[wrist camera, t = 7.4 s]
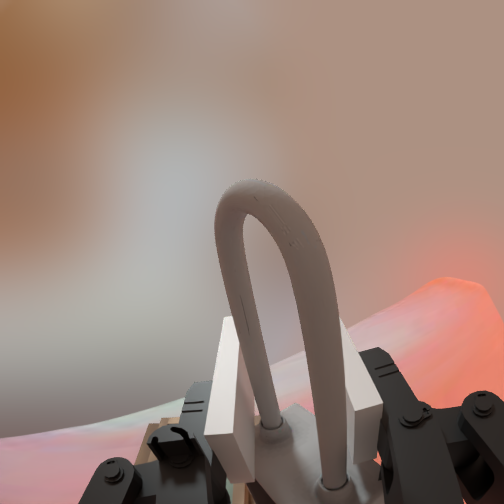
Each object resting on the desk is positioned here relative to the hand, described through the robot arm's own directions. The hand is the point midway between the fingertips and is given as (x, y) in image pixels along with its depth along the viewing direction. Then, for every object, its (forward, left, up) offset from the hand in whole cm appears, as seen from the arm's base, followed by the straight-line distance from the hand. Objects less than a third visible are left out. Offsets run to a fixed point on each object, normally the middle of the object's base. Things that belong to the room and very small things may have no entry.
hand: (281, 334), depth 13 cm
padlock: (0, -5, -8) cm, 10 cm away
